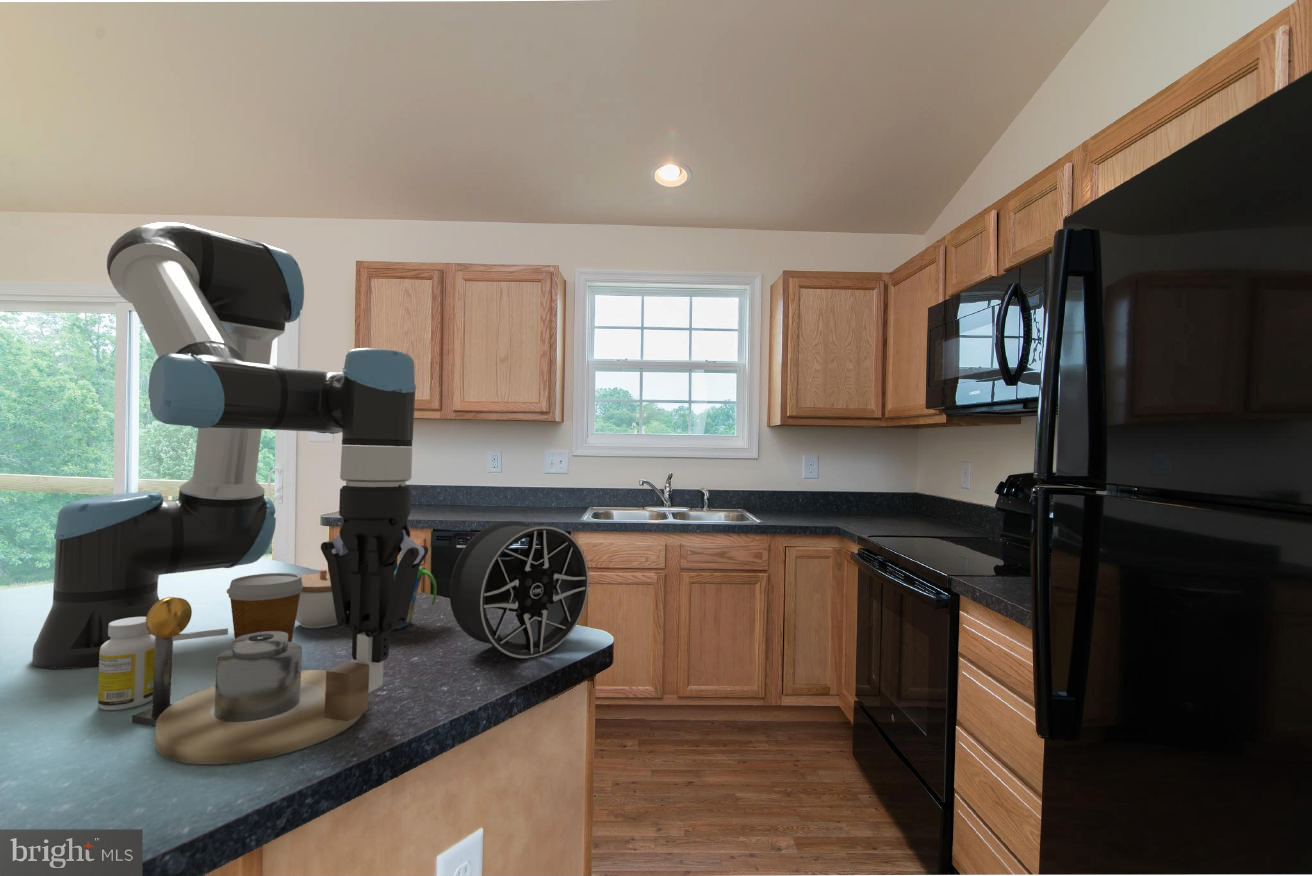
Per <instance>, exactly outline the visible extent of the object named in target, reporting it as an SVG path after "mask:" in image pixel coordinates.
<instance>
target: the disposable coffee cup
mask: <svg viewBox="0 0 1312 876" xmlns="http://www.w3.org/2000/svg"><path fill="white" fill-rule="evenodd" d="M301 576H302V575H301V574H297V573H292V572H291V573H290V572H269V573H258V574H251V575H244V576H239V577H236V578H233V579H232V580H231V582H230V584H229V587H228V589H226V593H227V594H228V598H229V599H230V606H231V607H230V608H231V616H232V625H233V627H232V628H233V635H234V637H233V638H234V639H236V638H238V637H240V636H243V635H247V634H251V633H257V632H265V631H281V632H285V633H288V642H293V636H294V631H295V626H296V615H297V609H298V603H299V598H300V592H301V591H302V588H303V587H304V583H302V579H301Z"/></svg>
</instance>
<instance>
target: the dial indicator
mask: <svg viewBox="0 0 1312 876" xmlns="http://www.w3.org/2000/svg"><path fill="white" fill-rule="evenodd" d="M192 609H193V608H192V606H191V604H190V602H189V601H188V600H187V599H185V598H181V597H174V596H168V597H164V598H161V599H159V601H158V602H156V603H155V604H154V605H153V606H152V607H151V609H150V610H149V612H148V614H147V617H146V628H147V630H148V632H149V633H150V634H151V635H153V636H155V658H154V680H153V700H152V701H151V703H152V704H151V705H152V706H151V708H148V709H145V710H142V711H140V712H137V713H135V714H132V715H131V723H133V724H138V725H143V726H148V727H153V728H156V721H157V719H158V717H159V716H160V714H161V713H162V712H163V711H164V710H166V709H167V708H168V707H170V706H171V705H172V704H173V703H171V699H172V698H171V695H172V676H173V675H172V673H173V650H174V642H176V641H183V640H184V641H185V640H192V639H193V640H194V639H202V638H209V637H211V638H212V637H218V636H226V635H227V636H228V635H229V628H219V629H212V630H211V629H210V630H201V631H195V632H194V631H193V632H183V631H184V630H185V629H186V628H187V626H188V625H189V624H190V621H191V619H192V614H193V612H192V611H193V610H192ZM182 632H183V633H182Z"/></svg>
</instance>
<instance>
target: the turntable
mask: <svg viewBox="0 0 1312 876" xmlns="http://www.w3.org/2000/svg"><path fill="white" fill-rule="evenodd" d="M368 690H369V665H367V664H359V663H356V662H351V661H345V662H343V663H341V664H339V665H337V666H333V667H332V668H329V669H328V670H321V669H320V670H319V669H306V670H305V669H301V684H300V702H299V703H298V705H297V706H295V707H294V708H292V709H291V710H289V711H287V712H285V713H282V714H280V715H277V716H274V717H270V718H266V719H262V720H256V721H249V722H225V721H221V720H218V719H216V718H215V716H214V709H215V685H213V686H210V687H207V688H204V689H202V690H199V691H197V692H196V691H195V692H194V693H191V694H190V695H188V696H187V695H186V696H185V697H183V698H181V699H179V700H178V701H176V702H174V703H171V704H172V705H171V706H170V707H168V708H167V709H166V710H164V711H163V712H162V713H161V714H160V716H159V717H158V719H157V721H156V727H155V736H154V746H155V749H156V751H157V752H158V753H159V754H161V756H163V757H165V758H167V759H169V760H171V761H176V762H180V763H181V762H182V763H187V764H195V765H197V764H198V765H221V764H223V765H224V764H225V765H226V764H234V763H235V764H236V763H243V762H244V763H245V762H250V761H251V762H252V761H258V760H262V759H263V760H264V759H267V758H273V757H277V756H281V755H284V754H289V753H293V752H295V751H299V750H301V749H302V750H303V749H305V748H309V747H310V746H311V747H312V746H313V745H315V744H318V743H321V742H323V741H326V740H328V739H331V738H332V737H334V736H336V735H338V734H340V733H342V732H344V731H345V730H347V729H349V728H350V727H351V726H352V725H354V724H355V723H357V722H358V720H359V719H360V718H361V717H362V716H363V714H364V713H366V712H367V711H368V710H369V693H368Z"/></svg>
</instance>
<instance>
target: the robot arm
mask: <svg viewBox="0 0 1312 876" xmlns="http://www.w3.org/2000/svg"><path fill="white" fill-rule="evenodd" d="M106 270H107V275H108V277H109V279H110V281H111V282H110V283H111V284H112V286H113V288H114V289H115V291H116V292H117V294H118V295H120V296H121V297H122V298H123V299H124V300H126V302H129V304H132V306H133V308H134V311H135V312H136V314H137V317H138V318H139V321H140V322H141V325H142V327H143V328H144V331H145V333H146V335H147V337H148V338H149V341H150V343H151V345H152V347H153V349H154V352H155V353H156V355H157V358H156V359H155V361H154V362H153V364H152V366H151V369H150V374H149V377H148V378H149V379H148V391H147V392H148V399H149V409H150V412H151V414H152V416H153V417H154V418H155V419H156V420H157V421H158V422H160V423H163V424H165V425H172V426H182V427H192V428H195V429H197V436H196V445H195V452H194V453H195V454H194V462H193V463H194V464H193V469H192V470H193V471H192V477H191V478H190V479H188V480H187V481H185V482H184V483H183V484H181V485H180V486H179V488H178V489H179V490H178V491H179V492H178V498H177V499H168V500H167V499H165V500H164V496H163V495H162V493H161V492H160V491H151V490H150V491H137V492H124V493H115V494H108V495H100V496H93V497H89V498H81V499H77V500H74V501H71V502H69V503H67V504H65V505H64V506H62V508H61V509H59V511H58V515H57V523H56V527H55V533H54V534H53V538H54V540H55V551H54V552H55V554H54V556H55V557H54V574H53V575H54V576H53V588H52V589H53V593H52V604H51V608H50V610H49V612H48V614H47V617H46V619H45V620H44V623H43V625H42V627H41V630H40V632H39V634H38V637H37V638H36V641H35V643H34V645H33V648H32V658H31V661H32V663H31V664H33V665H34V666H35V667H38V668H45V669H78V668H88V667H95V666H99V654H100V648H101V646H102V645H103V644H104V643H105V642H107V641H108V640H110V639H111V637H109V636H108V626H109V623H111V622H113V621H116V620H120V619H124V618H131V617H147V614H148V612H149V610H150V609H151V607H152V606H153V605H154V604H155V603H156V602H158V601H159V600H160V597H159V593H158V592H159V590H158V588H159V587H158V586H159V577H160V576H163V575H168V574H170V575H171V574H179V573H188V572H197V571H204V570H214V569H231V568H235V567H236V566H237V567H238V566H243V565H245V566H246V565H250V564H253V563H255V562H258V561H259V560H260V559H261V558H262V557H263V556H265V554H266V553H267V551H268V550H269V548H270V546H271V544H272V541H273V539H274V535H275V530H276V524H277V523H276V522H277V518H276V517H275V515H276V507H275V504H274V503H273V501H272V500H271V498H269V497H268V496H265V492H266V490H265V488H264V487H263V486H262V485H261V484H260V483H259V482H258V481H257V479H256V478H257V472H258V471H257V470H258V462H259V454H260V447H261V441H262V439H261V438H262V430H271V431H272V430H273V431H274V430H275V431H292V432H293V431H294V432H295V431H296V432H315V433H319V434H330V435H331V434H332V435H334V434H339V433H341V435H342V436H341V455H340V456H341V457H340V472H339V475H340V476H339V478H340V480H341V481H343V482H345V485H343V486H341V488H340V489H339V503H338V504H339V506H338V507H339V509H338V515H339V517H340V518H341V519H343V521H342V525H341V526H340V528H339V533H338V534H339V535H337V536H336V537H334V538H333V539H332V540H329V541H323V542H321V544H320V550H321V552H322V555H323V557H324V559H325V561H326V563H327V569H328V573H329V576H330V582H331V588H332V594H333V601H334V607H335V613H336V619H337V623H338V624H337V625H338V626H340V627H342V626H343V627H344V626H345V627H347V628H348V629H349V630H350V632H351V633H352V639H351V640H352V642H351V643H352V644H351V645H352V647H351V656H352V660H354V661H356V662H355V663H359V664H367V665H369V690H368V694H370V693H371V692H373V691H375V690H377V689H379V688H381V687H383V684H384V682H383V681H384V661H386V660H388V658H389V654H390V650H389V649H390V647H389V646H390V633H391V631H393V630H395V628H398V627H400V626H402V625H404V624H405V623H406V620H407V616H408V612H409V608H410V604H411V600H412V596H413V592H414V588H415V584H416V580H417V576H418V572H419V568H420V566H421V565H422V563H423V561H424V560H425V558H426V557H427V555H428V554H429V548H428V546H427V545H423V544H422V545H419V544H418V543H417V542H416V541H414V540H413V539H412V538H411V531H410V528H409V525H408V518H409V517H410V514H411V509H412V508H411V507H412V505H411V504H412V503H411V502H412V500H411V499H412V488H410V486H409V485H406V483H407V482H409V481H411V479H412V472H413V471H412V469H413V441H414V439H413V438H414V423H415V421H414V420H415V405H416V402H415V401H416V391H417V384H416V383H415V376H416V375H415V361H414V359H413V357H411V356H410V355H409V354H407V353H406V352H402V351H398V350H392V349H386V348H384V349H383V348H375V347H373V348H372V347H371V348H370V347H364V348H363V347H360V348H354V349H353V348H352V349H350V350H348V351H347V354H346V355H345V359H344V360H345V361H344V365H343V368H342V371H339V372H336V371H335V372H333V371H325V370H315V369H306V368H299V367H298V368H297V367H289V366H281V365H273V364H271V354H272V350H273V349H272V348H273V342H274V340H275V339H277V338H278V337H280V336H282V335H283V334H284V333H285V331H286V323H288V324H289V323H292V322H295V321H297V320H298V319H299V318H300V316H301V311H302V310H303V307H304V302H305V301H304V300H305V283H304V278H303V275H302V270H301V268H300V266H299V264H298V262H297V260H296V259H295V257H294V256H293V255H292V254H290V253H289V252H288V251H286V250H284V249H280V248H277V247H274V246H271V245H268V244H267V243H262V242H259V241H258V242H257V241H254V240H249V239H246V238H241V237H236V236H234V235H229V234H225V233H221V232H217V231H213V230H210V229H209V230H208V229H205V228H201V227H197V226H195V225H191V224H186V223H180V222H170V221H169V222H168V221H167V222H165V221H164V222H154V223H149V224H145V225H140V226H138V227H135V228H133V229H131V230H129V231H127V232H125V233H124V234H122V235H121V236H120V237H118V238H117V239H116V240H115V242H114V243H113V244H112V245H111V247H110V249H109V252H108V253H107V257H106ZM398 559H400V560H399V565H398V567H397V563H398ZM396 569H397V571H396V575H395V579H394V572H395V570H396ZM347 612H348V613H347ZM149 634H150V633H149ZM150 635H151V634H150Z"/></svg>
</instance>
